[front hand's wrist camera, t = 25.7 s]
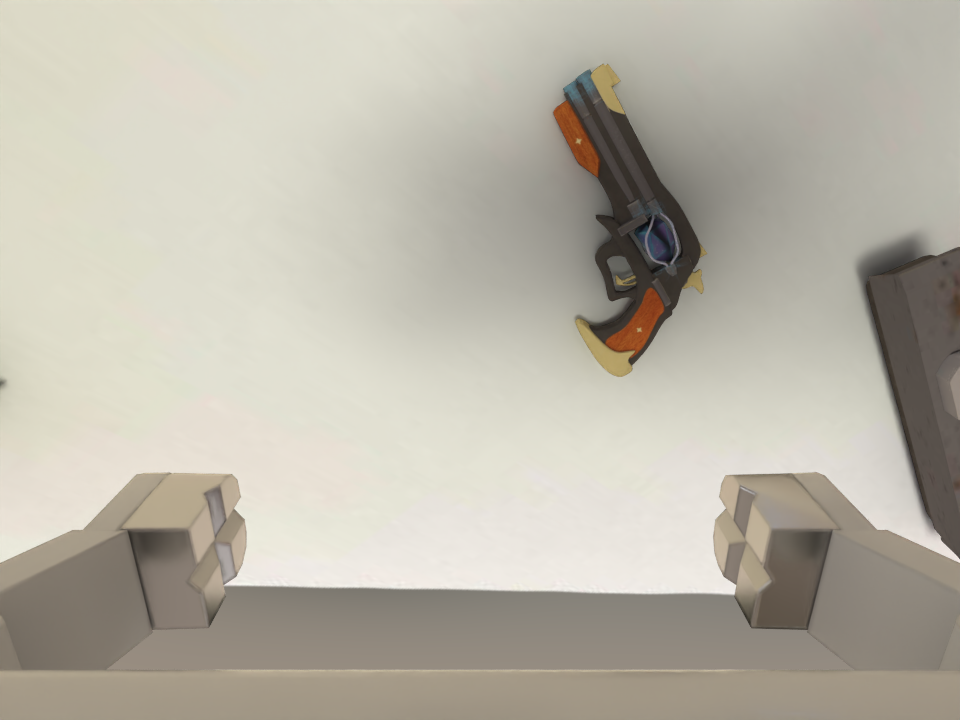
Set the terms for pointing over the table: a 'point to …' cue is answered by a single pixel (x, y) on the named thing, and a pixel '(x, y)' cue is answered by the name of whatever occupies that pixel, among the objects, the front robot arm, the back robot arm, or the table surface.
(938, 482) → the toy
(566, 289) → the table surface
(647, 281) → the toy gun
